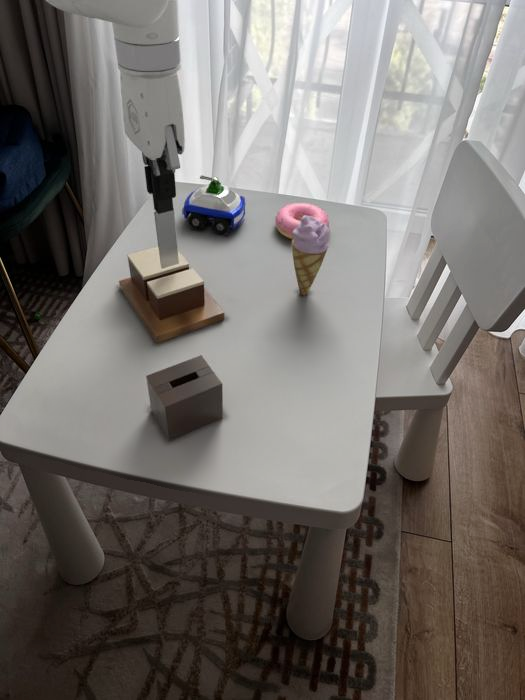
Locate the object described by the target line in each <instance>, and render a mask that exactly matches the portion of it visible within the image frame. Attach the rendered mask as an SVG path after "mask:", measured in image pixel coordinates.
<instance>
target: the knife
mask: <svg viewBox="0 0 525 700" xmlns="http://www.w3.org/2000/svg"><path fill="white" fill-rule="evenodd" d="M165 159H166V157H165V158H160V159H159V163H160V161H161V160H165ZM148 162H149V170H150V178H151V186H152V177H151V174H153V173H154V171H153V161H152V160H151V159H149V158H148ZM151 196H152V203H153V210H154V212H153V215H154V224H155V231H156V238H157V247H158V248H159V256H160V264H161V269H163V268H166V267H169V266H172V265H176V264H179V260H178V251H179V250H178V249H179V248H178V241H177V230H176V229H177V228H176V219H175V218H176V217H175V207H174V200H173V199H174V198H171V199H166V200H162V201H158V202H157V201H155V200H154V196H153V187H152V194H151Z"/></svg>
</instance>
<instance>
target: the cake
mask: <svg viewBox="0 0 525 700" xmlns="http://www.w3.org/2000/svg"><path fill="white" fill-rule="evenodd" d="M126 256H127V261H128V269H129V275H130V277H131V279H132V281H133V282H134V284H135V285H136V287H137V288H138V290H139V291H140V292H141V294H142V295H143V297H144V298H145V300H146V301H149V294H148V286H147V282H149V281H152V280H156V279H159V278H162V277H166V276H169V275H172V274H175V273H179V272H182V271H185V270H189V269H190V263H189V261H187V260H186V258H185V257H184V255H182V253H181V251H179V250H178V260H179V264H176V265H172V266H169V267H166V268H163V269H161V264H160V256H159V248H158V246H154V247H151V248H147V249H143V250H139V251H137V252H133V253H129V254H127V255H126Z"/></svg>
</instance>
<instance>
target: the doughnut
mask: <svg viewBox="0 0 525 700" xmlns="http://www.w3.org/2000/svg"><path fill="white" fill-rule="evenodd" d="M304 215H306V216H312V217H314V218H316V219H318V220H319V222H320V223H321V224H322V223H326V224H327V227H328V228H329V227H330V223H331V222H330V219H329V216H328V214H327V213H326V212H325V211H324V209H323V208H321V207H320V206H317V205H315V204H312V203H307V202H295V203H294V202H293V203H289V204H287V205H284V206H283V207H281V208H280V209H279V210H278V211H277V213H276V216H275V220H274V221H275V225H276V228H277V230H278V232H279V233H280V234H281V235H282V236H284V237H286V238H287V239H289V240H291V241H292V240H293V231H294V229H295V228H296V227H297V225H298V224H299V223H300V222H301V221H300V219H301V218H302V217H303V216H304ZM299 218H300V219H299Z"/></svg>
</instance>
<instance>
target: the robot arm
mask: <svg viewBox="0 0 525 700" xmlns="http://www.w3.org/2000/svg"><path fill="white" fill-rule="evenodd" d="M45 1H46V3H48V4H49V5H51V6H52V7H54V8H56V9H58V10H60V11H63V12H65V13H70V14H73V15H77V16H82V17H86V18H89V19H97V20H101V21H105V22H109V23H112V32H113V40H114V48H115V54H116V61H117V64H116V65H117V68H118V70H119V73H120V74H119V75H120V77H119V78H120V95H121V106H122V117H123V127H124V133H125V135H126V137H127V138H128V139H129V140H130V142H131V143H132V144H133V145H134V146H135V147H136V148H137V149H138V150H139V151H140V153H141V156H142V162H143V164H144V165H145V166H144V176H145V184H146V185H145V187H146V192H147V193H148V194H149V195H152V187H153V195H152V197H153V196H154V200H155V201H157V202H158V201H162V200H166V199H171V198H172V199H175V198H176V196H177V189H176V186H177V185H176V175H175V173H176V170H178V169H179V170H180V169H181V162H180V161H181V160H180V157H179V155H183V153H184V152H185V149H186V135H185V120H184V119H185V118H184V110H183V103H182V94H181V93H182V92H181V86H180V80H179V74H178V72H179V71H180V70H181V68H182V62H181V45H180V44H181V43H180V28H179V27H180V25H179V9H178V6H179V5H178V0H45ZM165 157H166V159H165V160H161V161H160V163H159V159H160V158H165ZM148 158H149V159H151V160H152V161H153V171H154V173H153V174H151V177H152V186H151V178H150V170H149V162H148Z"/></svg>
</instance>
